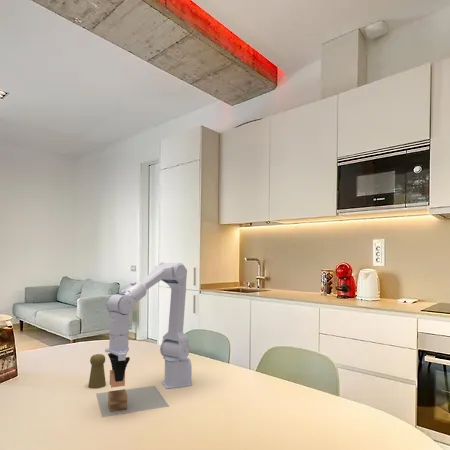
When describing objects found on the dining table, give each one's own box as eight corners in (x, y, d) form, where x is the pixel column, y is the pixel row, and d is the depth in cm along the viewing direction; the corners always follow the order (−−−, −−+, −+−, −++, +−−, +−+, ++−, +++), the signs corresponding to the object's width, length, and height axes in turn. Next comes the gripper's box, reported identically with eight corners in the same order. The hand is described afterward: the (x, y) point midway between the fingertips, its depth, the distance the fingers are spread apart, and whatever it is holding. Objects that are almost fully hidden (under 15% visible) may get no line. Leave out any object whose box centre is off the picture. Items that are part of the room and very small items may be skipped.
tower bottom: (124, 403, 121) (124, 396, 121) (127, 409, 116) (127, 402, 116) (108, 406, 119) (108, 398, 119) (110, 412, 114) (110, 404, 114)
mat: (154, 386, 137) (154, 385, 137) (169, 406, 119) (169, 406, 119) (96, 394, 129) (96, 393, 129) (102, 417, 111) (102, 416, 111)
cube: (122, 381, 121) (123, 368, 121) (124, 385, 117) (125, 372, 117) (109, 383, 119) (109, 370, 119) (111, 387, 115) (111, 374, 116)
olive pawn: (100, 389, 133) (101, 357, 134) (84, 388, 135) (85, 356, 135) (109, 383, 139) (109, 353, 140) (93, 382, 141) (94, 352, 141)
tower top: (124, 396, 121) (124, 389, 121) (127, 402, 116) (127, 394, 117) (108, 398, 119) (108, 391, 119) (110, 404, 114) (110, 397, 115)
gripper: (103, 330, 124) (102, 373, 123) (108, 339, 111) (107, 388, 110) (125, 328, 127) (124, 370, 126) (133, 337, 114) (132, 384, 113)
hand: (118, 378), depth 118 cm, fingers closed on cube, 4 cm apart
